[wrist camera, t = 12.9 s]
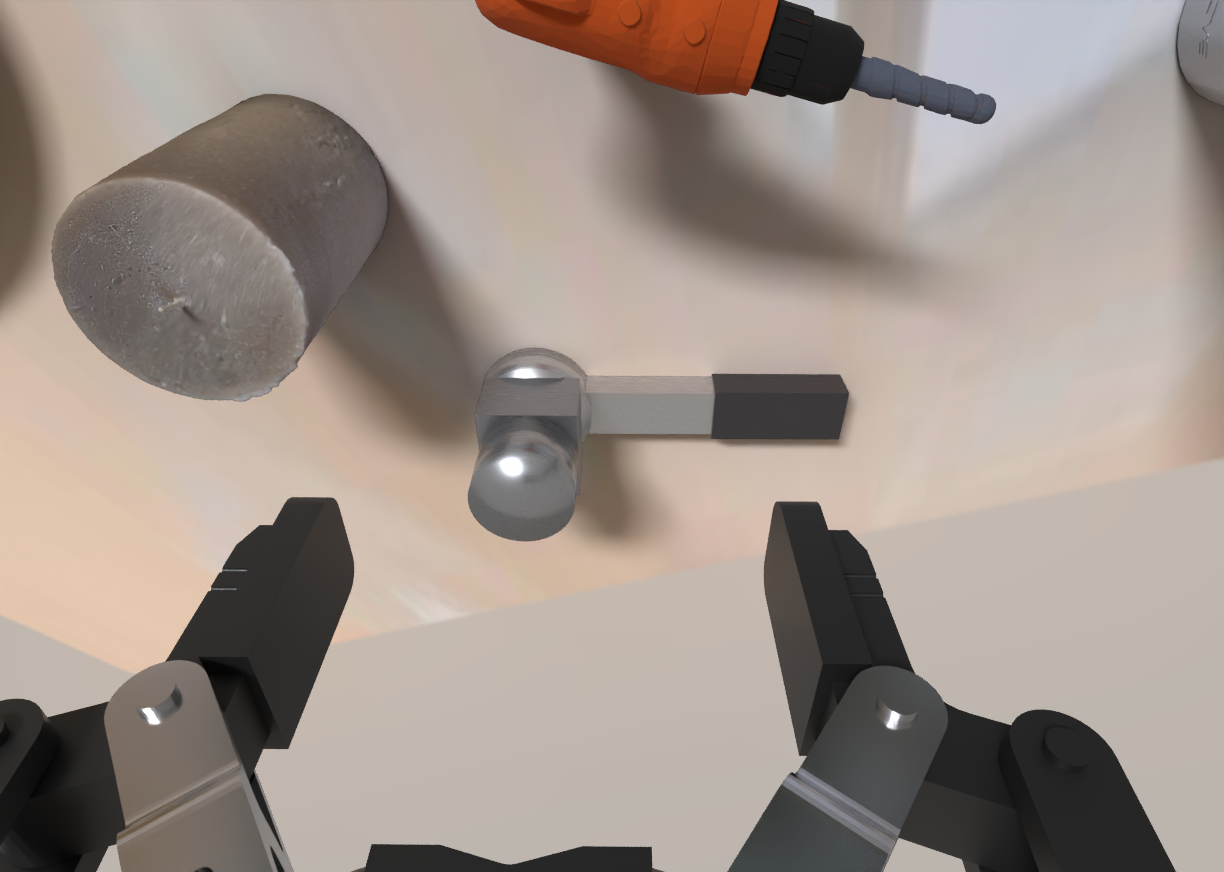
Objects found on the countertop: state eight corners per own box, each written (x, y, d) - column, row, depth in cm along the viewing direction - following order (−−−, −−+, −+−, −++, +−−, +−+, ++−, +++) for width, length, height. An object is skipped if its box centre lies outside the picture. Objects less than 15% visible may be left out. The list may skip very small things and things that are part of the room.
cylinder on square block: (580, 378, 44) (573, 460, 37) (582, 454, 47) (576, 541, 41) (485, 377, 44) (461, 459, 37) (494, 453, 47) (474, 540, 41)
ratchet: (845, 349, 45) (872, 402, 41) (826, 442, 49) (848, 500, 45) (477, 347, 46) (460, 400, 41) (488, 440, 50) (474, 498, 45)
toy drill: (895, 117, 36) (979, 208, 24) (524, 7, 36) (414, 42, 24) (944, 6, 34) (1067, 44, 21) (542, -115, 33) (430, -148, 21)
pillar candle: (167, 149, 39) (-36, 265, 27) (311, 54, 36) (157, 135, 24) (294, 300, 44) (171, 454, 32) (429, 226, 41) (350, 364, 29)
